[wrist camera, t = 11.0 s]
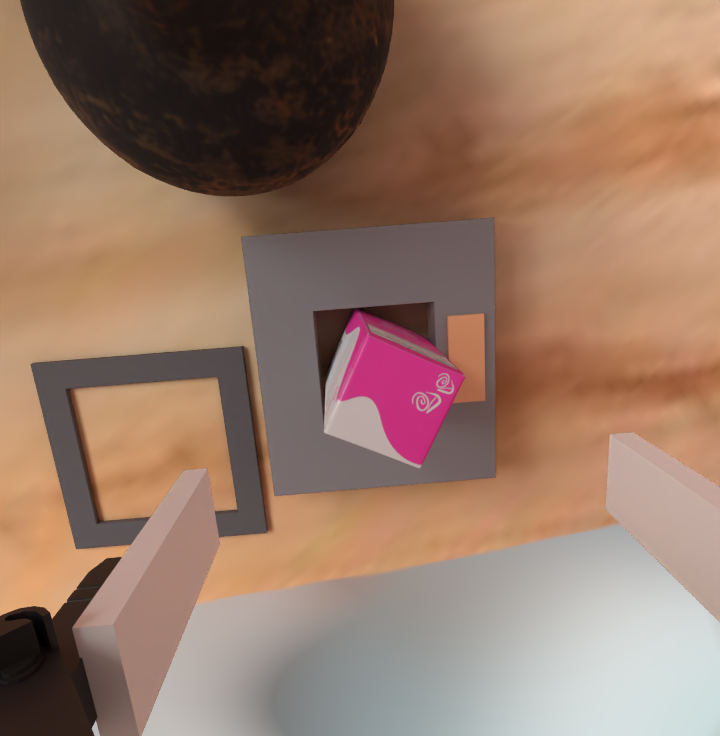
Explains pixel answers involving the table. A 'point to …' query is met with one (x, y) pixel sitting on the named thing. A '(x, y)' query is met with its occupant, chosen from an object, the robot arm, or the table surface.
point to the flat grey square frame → (140, 369)
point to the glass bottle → (216, 82)
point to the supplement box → (388, 389)
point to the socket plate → (367, 289)
